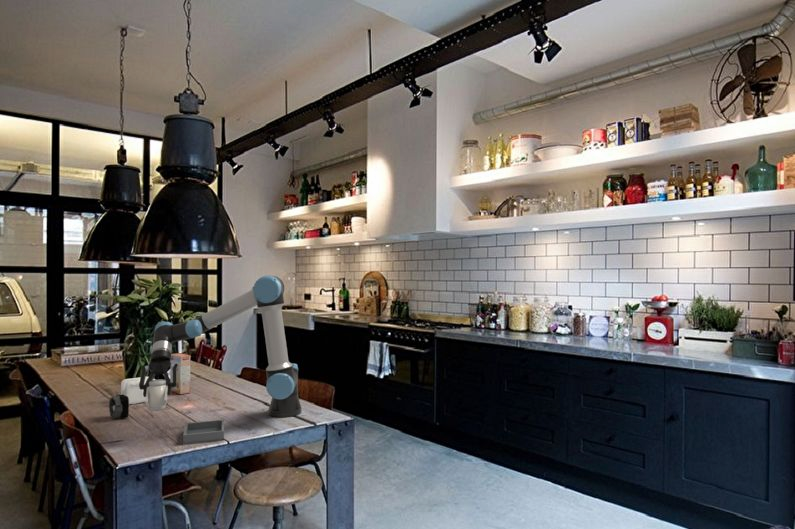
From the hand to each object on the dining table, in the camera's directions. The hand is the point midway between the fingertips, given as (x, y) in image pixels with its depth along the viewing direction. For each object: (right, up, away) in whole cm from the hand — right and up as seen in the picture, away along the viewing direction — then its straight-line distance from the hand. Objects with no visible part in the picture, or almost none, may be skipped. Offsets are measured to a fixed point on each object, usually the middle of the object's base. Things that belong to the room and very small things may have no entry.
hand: (156, 402), depth 190 cm
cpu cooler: (-33, -16, +33) cm, 50 cm away
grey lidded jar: (-1, -3, +3) cm, 5 cm away
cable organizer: (-39, -17, +63) cm, 76 cm away
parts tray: (+16, -15, +7) cm, 23 cm away
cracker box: (-28, -18, +84) cm, 90 cm away
